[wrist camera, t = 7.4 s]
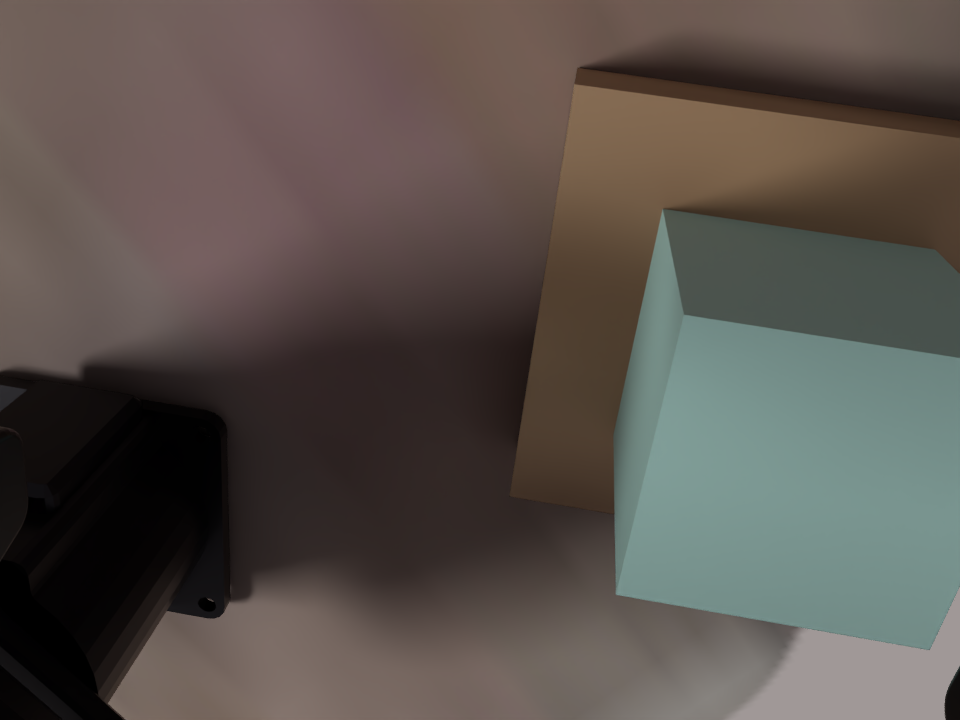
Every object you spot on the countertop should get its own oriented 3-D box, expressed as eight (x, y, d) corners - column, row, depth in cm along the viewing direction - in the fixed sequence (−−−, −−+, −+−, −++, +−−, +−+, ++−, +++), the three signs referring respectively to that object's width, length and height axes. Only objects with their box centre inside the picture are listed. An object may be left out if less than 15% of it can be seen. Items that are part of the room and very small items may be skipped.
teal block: (851, 474, 18) (929, 650, 14) (613, 435, 19) (615, 595, 14) (934, 249, 16) (1059, 373, 12) (662, 208, 16) (683, 315, 12)
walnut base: (891, 510, 21) (917, 565, 19) (517, 448, 22) (509, 496, 20) (1043, 132, 17) (1095, 157, 15) (577, 67, 17) (574, 84, 16)
